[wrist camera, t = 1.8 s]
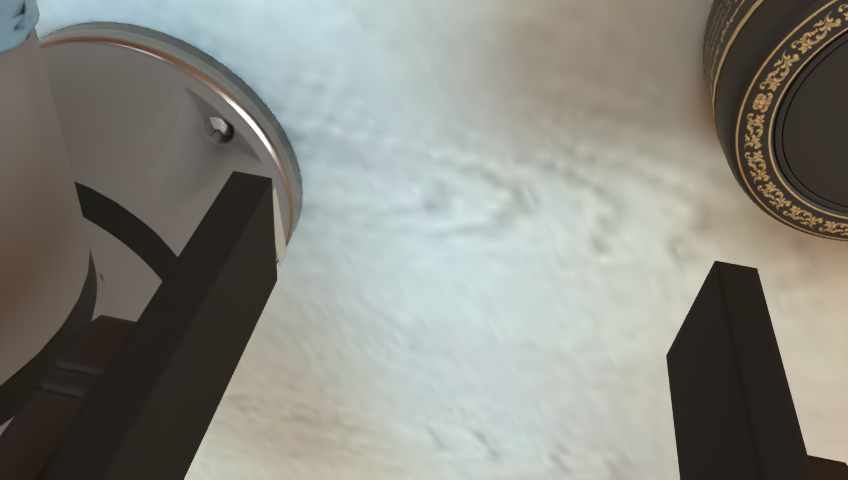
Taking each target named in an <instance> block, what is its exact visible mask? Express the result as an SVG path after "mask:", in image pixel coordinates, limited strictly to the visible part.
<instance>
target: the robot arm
mask: <svg viewBox="0 0 848 480" xmlns="http://www.w3.org/2000/svg"><path fill="white" fill-rule="evenodd" d="M38 19H39V10H38V6H37V2H36V0H0V480H184V478H185V476H186V474H187V471H188V469H189V467H190V465H191V463H192V461H193V459H194V456H195V454H196V452H197V450H198V448H199V446H200V444H201V442H202V439H203V437H204V435H205V433H206V431H207V429H208V427H209V424H210V422H211V420H212V418H213V416H214V414H215V412H216V409H217V407H218V405H219V403H220V401H221V399H222V397H223V394H224V392H225V390H226V388H227V386H228V384H229V382H230V380H231V377H232V375H233V373H234V371H235V369H236V367H237V365H238V362H239V360H240V358H241V356H242V354H243V352H244V350H245V347H246V345H247V343H248V341H249V339H250V337H251V335H252V333H253V330H254V328H255V326H256V324H257V322H258V320H259V318H260V315H261V313H262V311H263V309H264V307H265V305H266V303H267V300H268V298H269V296H270V294H271V292H272V290H273V288H274V286H275V283H276V281H277V266H276V265H277V263H278V262H279V265H281V263H282V261H283V259H284V256H285V254H286V252H287V249H286V247H287V245H288V243H289V241H290V239H291V237H292V234H293V232H294V230H295V228H296V226H297V223H298V220H299V217H300V213H301V207H302V194H303V192H302V180H301V175H300V170H299V166H298V163H297V159H296V156H295V154H294V151H293V149H292V146H291V144H290V142H289V140H288V138H287V136H286V134H285V132H284V130H283V129H282V127H281V125H280V124H279V122H278V121H277V119H276V118H275V116H274V115H273V114H272V112H271V111H270V110H269V108H268V107H267V106H266V104H265V103H264V102H263V101H262V100H261V99H260V98H259V96H258V95H257V94H256V93H255V92H254V91H253V90H252V89H251V88H250V87H249V86H248V85H247V84H246V83H245V82H244V81H243V80H242V79H240V78H239V77H238V76H237V75H236V74H234V73H233V72H232V71H231V70H229V69H228V68H227V67H226V66H224V65H223V64H221V63H220V62H218V61H217V60H216V59H214V58H213V57H211V56H209V55H208V54H206V53H204V52H203V51H201V50H199V49H198V48H196V47H194V46H192V45H190V44H188V43H186V42H184V41H182V40H179V39H177V38H175V37H172V36H170V35H167V34H165V33H161V32H158V31H155V30H152V29H149V28H144V27H140V26H135V25H130V24H123V23H112V22H95V23H84V24H79V25H74V26H70V27H67V28H64V29H60V30H58V31H56V32H54V33H52V34H50V35H48V36H46V37H45V38H43V39H42V40H40V41H38V37H37V33H36V29H35V25H36V23H37V22H38ZM666 357H667V366H668V375H669V384H670V392H671V401H672V410H673V419H674V428H675V436H676V445H677V454H678V463H679V472H680V480H848V466H847V464H846V463H844V462H839V461H834V460H829V459H824V458H819V457H814V456H809V455H807V452H806V448H805V444H804V441H803V437H802V433H801V430H800V426H799V422H798V418H797V415H796V411H795V407H794V404H793V400H792V396H791V393H790V389H789V385H788V381H787V378H786V374H785V370H784V367H783V363H782V359H781V355H780V352H779V348H778V344H777V341H776V337H775V333H774V330H773V326H772V322H771V318H770V315H769V311H768V307H767V304H766V300H765V296H764V292H763V289H762V285H761V281H760V278H759V274H758V270H757V268H752V267H746V266H741V265H736V264H730V263H725V262H720V261H715V262H714V264H713V266H712V268H711V270H710V272H709V274H708V275H707V277H706V279H705V281H704V283H703V285H702V287H701V289H700V291H699V293H698V295H697V297H696V299H695V301H694V303H693V305H692V307H691V309H690V311H689V313H688V314H687V316H686V318H685V320H684V322H683V324H682V326H681V328H680V330H679V332H678V334H677V336H676V338H675V340H674V342H673V344H672V346H671V348H670V350H669V352H668V353H667V355H666Z"/></svg>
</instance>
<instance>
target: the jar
mask: <svg viewBox="0 0 848 480" xmlns="http://www.w3.org/2000/svg"><path fill="white" fill-rule="evenodd" d="M703 64H704V72H705V77H706V82H707V86H708V89H709V93H710V97H711V101H712V104H713V118H714V123H715V128H716V132H717V136H718V139H719V142H720V144H721V147H722V149H723V152H724V153H725V156H726V159H727V161H728V164H729V166H730V168H731V171H732V173H733V175H734V177H735V179H736V180H737V182H738V183H739V185H740V186H741V188H742V189H743V191H744V192H745V193H746V194H747V196H748V197H749V198H750V199H751V200H752V201H753V202H754V203H755V204H756V205H757V206H758V207H759V208H760V209H762V210H763V211H764V212H765V213H767V214H768V215H770V216H771V217H773V218H774V219H776V220H778V221H780V222H781V223H783V224H785V225H787V226H789V227H792V228H794V229H796V230H799V231H801V232H804V233H807V234H811V235H814V236H818V237H822V238H827V239H833V240H840V241H848V0H714V2H713V5H712V8H711V11H710V14H709V17H708V21H707V25H706V30H705V35H704V44H703Z"/></svg>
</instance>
